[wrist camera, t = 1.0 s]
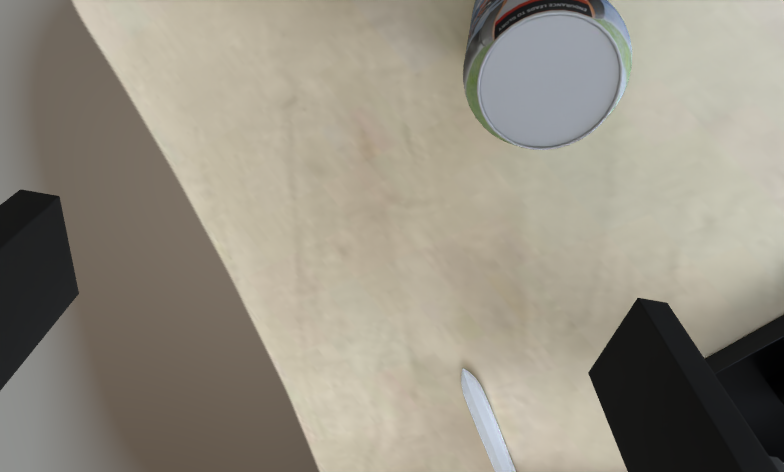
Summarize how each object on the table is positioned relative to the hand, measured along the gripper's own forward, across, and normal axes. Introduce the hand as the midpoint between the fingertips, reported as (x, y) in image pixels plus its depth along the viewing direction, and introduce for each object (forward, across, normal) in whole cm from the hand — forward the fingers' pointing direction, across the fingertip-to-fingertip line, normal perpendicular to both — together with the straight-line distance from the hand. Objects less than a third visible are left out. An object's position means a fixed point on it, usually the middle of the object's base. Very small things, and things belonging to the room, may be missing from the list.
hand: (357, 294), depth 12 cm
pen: (+16, +14, -25) cm, 33 cm away
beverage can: (+20, +8, +3) cm, 22 cm away
